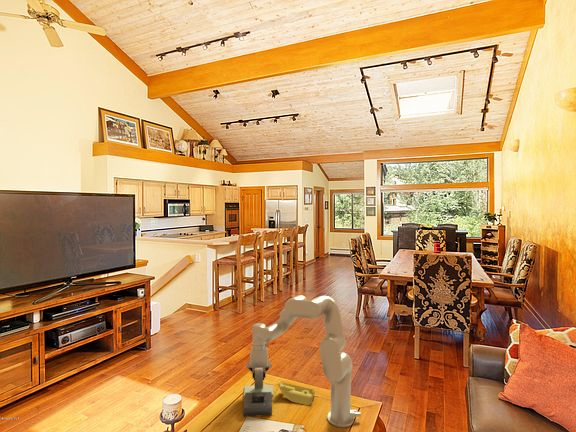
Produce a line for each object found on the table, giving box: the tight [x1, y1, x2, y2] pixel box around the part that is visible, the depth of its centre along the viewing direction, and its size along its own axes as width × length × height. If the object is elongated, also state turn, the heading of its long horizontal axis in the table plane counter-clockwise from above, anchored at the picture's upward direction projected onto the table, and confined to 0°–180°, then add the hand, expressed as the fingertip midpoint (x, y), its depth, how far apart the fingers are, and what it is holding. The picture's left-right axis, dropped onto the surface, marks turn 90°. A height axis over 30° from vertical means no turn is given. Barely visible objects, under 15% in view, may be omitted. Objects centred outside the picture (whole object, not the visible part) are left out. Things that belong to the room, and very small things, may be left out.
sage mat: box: [243, 384, 274, 398], centre depth 183 cm, size 16×10×1 cm, turn 94°
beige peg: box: [254, 368, 264, 390], centre depth 183 cm, size 5×5×10 cm
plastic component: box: [278, 381, 316, 406], centre depth 179 cm, size 20×7×10 cm
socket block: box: [242, 392, 273, 417], centre depth 168 cm, size 14×14×4 cm
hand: (258, 378), depth 183 cm, fingers closed on beige peg, 4 cm apart
